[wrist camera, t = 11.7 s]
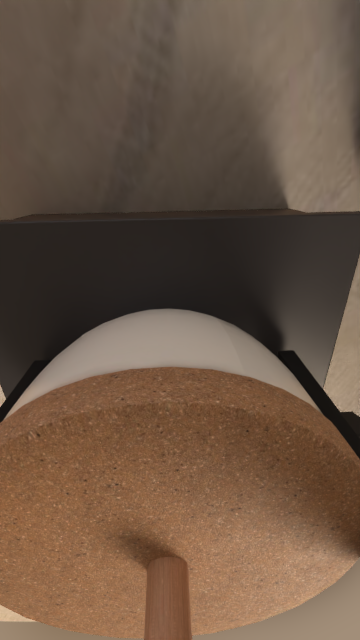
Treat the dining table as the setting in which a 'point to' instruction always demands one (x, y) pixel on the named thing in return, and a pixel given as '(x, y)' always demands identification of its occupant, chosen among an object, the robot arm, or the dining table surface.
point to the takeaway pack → (176, 277)
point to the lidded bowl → (171, 484)
